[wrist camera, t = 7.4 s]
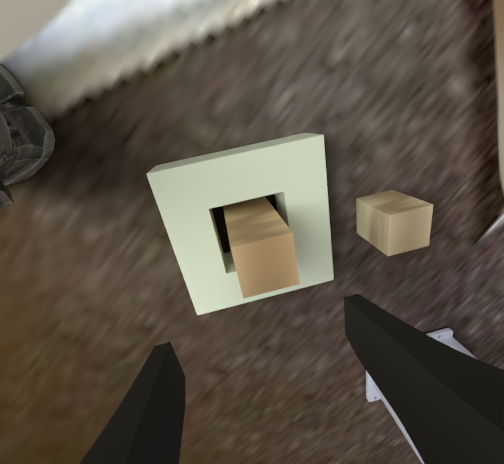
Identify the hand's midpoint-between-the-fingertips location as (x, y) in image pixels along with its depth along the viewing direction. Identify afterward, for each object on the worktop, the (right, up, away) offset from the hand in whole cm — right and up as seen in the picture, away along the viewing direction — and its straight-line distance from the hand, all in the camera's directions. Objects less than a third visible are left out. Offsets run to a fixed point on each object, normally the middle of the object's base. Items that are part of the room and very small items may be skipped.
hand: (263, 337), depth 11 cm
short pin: (+9, +6, +10) cm, 15 cm away
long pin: (-1, +5, +8) cm, 10 cm away
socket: (-1, +5, +8) cm, 10 cm away
